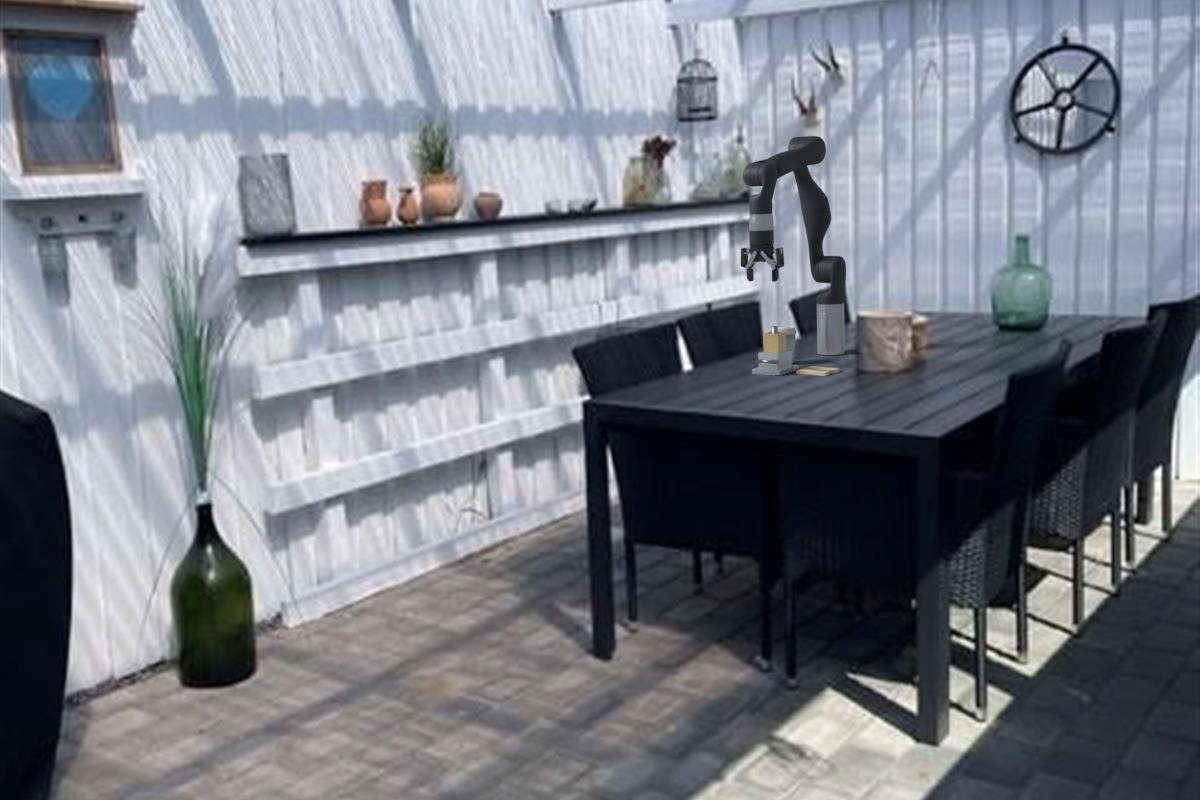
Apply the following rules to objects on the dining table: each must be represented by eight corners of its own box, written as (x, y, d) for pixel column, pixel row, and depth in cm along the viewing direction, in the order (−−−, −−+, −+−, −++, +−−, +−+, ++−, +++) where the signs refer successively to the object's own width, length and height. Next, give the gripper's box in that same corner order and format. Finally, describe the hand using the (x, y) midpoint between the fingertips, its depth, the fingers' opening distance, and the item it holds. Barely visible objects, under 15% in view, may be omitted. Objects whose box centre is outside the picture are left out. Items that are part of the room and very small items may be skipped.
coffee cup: (789, 366, 416) (788, 329, 414) (766, 364, 421) (765, 328, 419) (802, 362, 423) (801, 326, 421) (779, 360, 428) (778, 325, 426)
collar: (772, 350, 409) (771, 331, 407) (786, 350, 405) (786, 332, 404) (763, 352, 405) (763, 333, 403) (778, 353, 401) (777, 334, 400)
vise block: (771, 368, 414) (770, 323, 411) (798, 370, 408) (798, 324, 405) (751, 373, 404) (750, 328, 402) (779, 375, 398) (778, 329, 396)
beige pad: (811, 369, 408) (811, 366, 408) (840, 371, 402) (840, 368, 402) (796, 374, 400) (796, 370, 400) (825, 376, 394) (824, 372, 394)
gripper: (787, 227, 395) (788, 280, 398) (747, 228, 403) (749, 279, 406) (775, 229, 389) (776, 283, 392) (735, 229, 398) (736, 282, 401)
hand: (762, 281), depth 399 cm, fingers open, 8 cm apart
